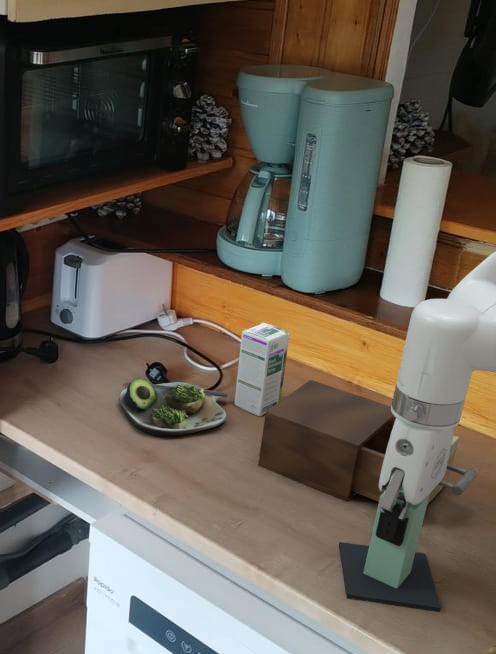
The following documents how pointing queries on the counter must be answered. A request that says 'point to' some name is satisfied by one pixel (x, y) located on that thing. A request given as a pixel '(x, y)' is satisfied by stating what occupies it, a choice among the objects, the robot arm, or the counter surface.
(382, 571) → the block
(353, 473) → the cabinet
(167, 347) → the counter surface
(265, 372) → the syrup box
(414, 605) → the slate mat
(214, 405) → the avocado toast plate
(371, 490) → the drawer
